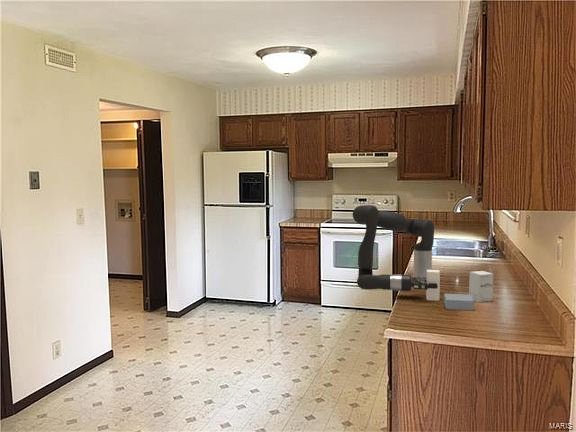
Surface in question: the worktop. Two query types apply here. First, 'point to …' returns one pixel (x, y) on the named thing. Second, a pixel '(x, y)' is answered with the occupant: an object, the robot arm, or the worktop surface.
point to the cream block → (433, 277)
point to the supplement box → (481, 286)
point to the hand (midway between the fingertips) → (436, 283)
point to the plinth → (458, 302)
